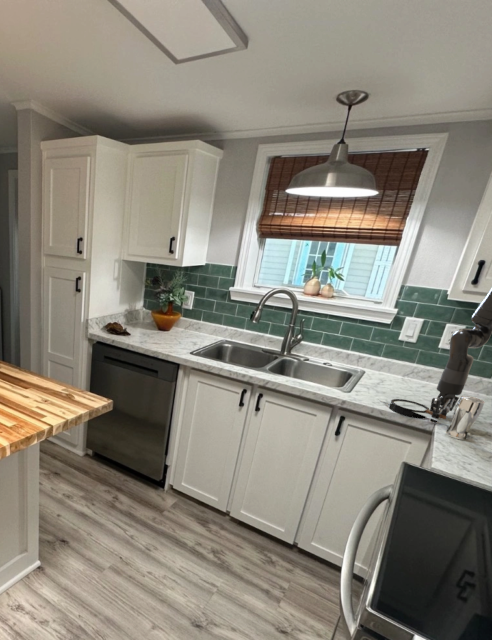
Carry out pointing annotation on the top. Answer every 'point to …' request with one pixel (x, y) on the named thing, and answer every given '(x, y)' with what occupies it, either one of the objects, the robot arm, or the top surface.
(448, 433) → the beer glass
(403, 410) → the frying pan
